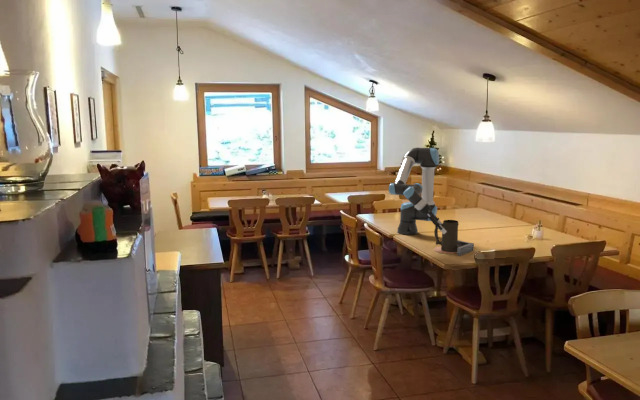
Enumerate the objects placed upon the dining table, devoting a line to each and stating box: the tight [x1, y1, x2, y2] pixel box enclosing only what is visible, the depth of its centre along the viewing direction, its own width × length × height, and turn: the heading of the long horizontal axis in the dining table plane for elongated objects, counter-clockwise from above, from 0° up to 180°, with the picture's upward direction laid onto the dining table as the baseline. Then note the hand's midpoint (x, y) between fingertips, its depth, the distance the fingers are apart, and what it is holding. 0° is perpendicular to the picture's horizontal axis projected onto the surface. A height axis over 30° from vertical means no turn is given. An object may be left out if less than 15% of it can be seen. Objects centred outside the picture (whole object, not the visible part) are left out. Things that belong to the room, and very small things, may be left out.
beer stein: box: [433, 219, 459, 252], centre depth 332 cm, size 15×11×20 cm
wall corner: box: [456, 240, 475, 257], centre depth 335 cm, size 18×21×5 cm
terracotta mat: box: [433, 246, 457, 255], centre depth 334 cm, size 16×16×1 cm
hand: (444, 230), depth 331 cm, fingers open, 13 cm apart
